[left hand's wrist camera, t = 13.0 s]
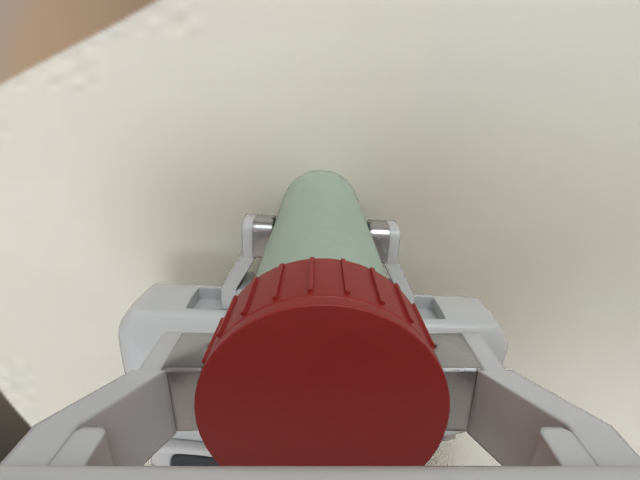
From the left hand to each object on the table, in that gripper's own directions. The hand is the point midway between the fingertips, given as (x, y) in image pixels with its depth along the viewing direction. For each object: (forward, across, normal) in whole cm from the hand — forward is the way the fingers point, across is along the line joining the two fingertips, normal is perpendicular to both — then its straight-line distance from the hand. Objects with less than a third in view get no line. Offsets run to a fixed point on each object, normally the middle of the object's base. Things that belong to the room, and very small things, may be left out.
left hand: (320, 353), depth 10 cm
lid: (-2, 0, 0) cm, 2 cm away
